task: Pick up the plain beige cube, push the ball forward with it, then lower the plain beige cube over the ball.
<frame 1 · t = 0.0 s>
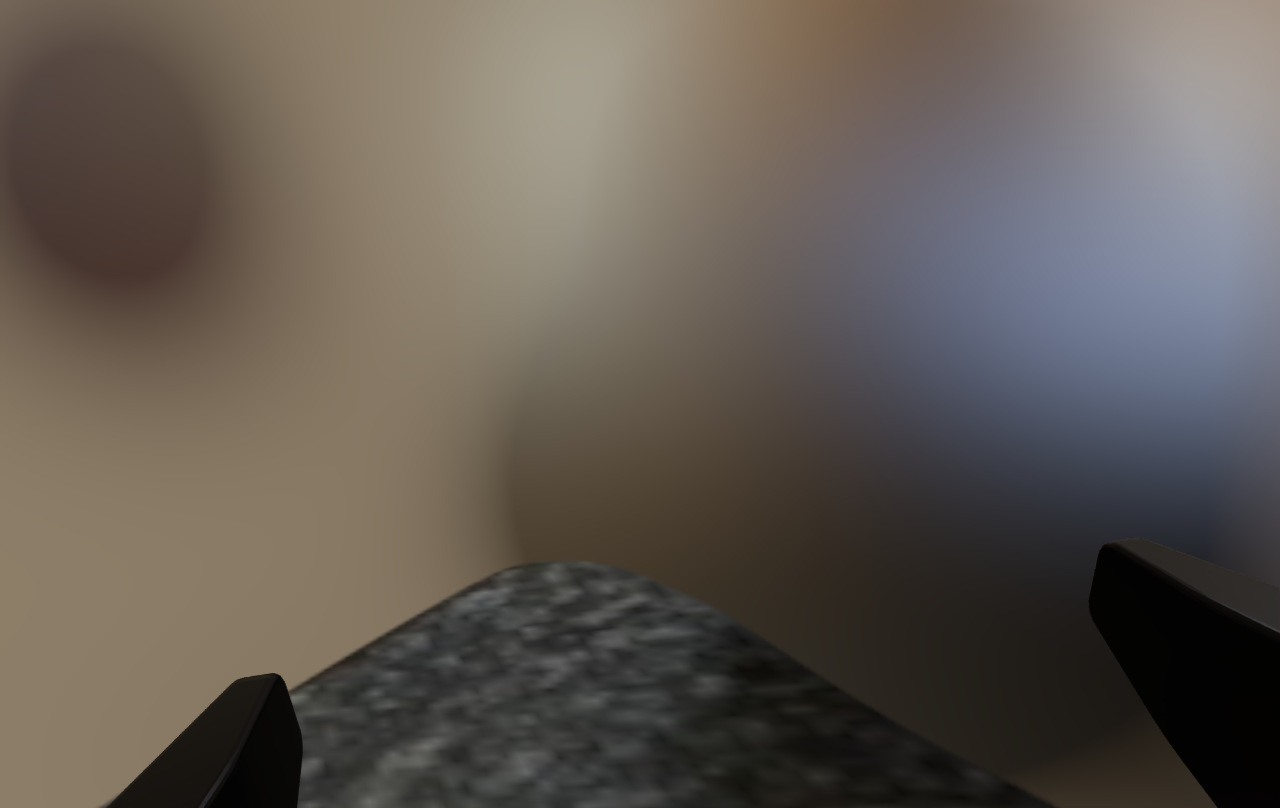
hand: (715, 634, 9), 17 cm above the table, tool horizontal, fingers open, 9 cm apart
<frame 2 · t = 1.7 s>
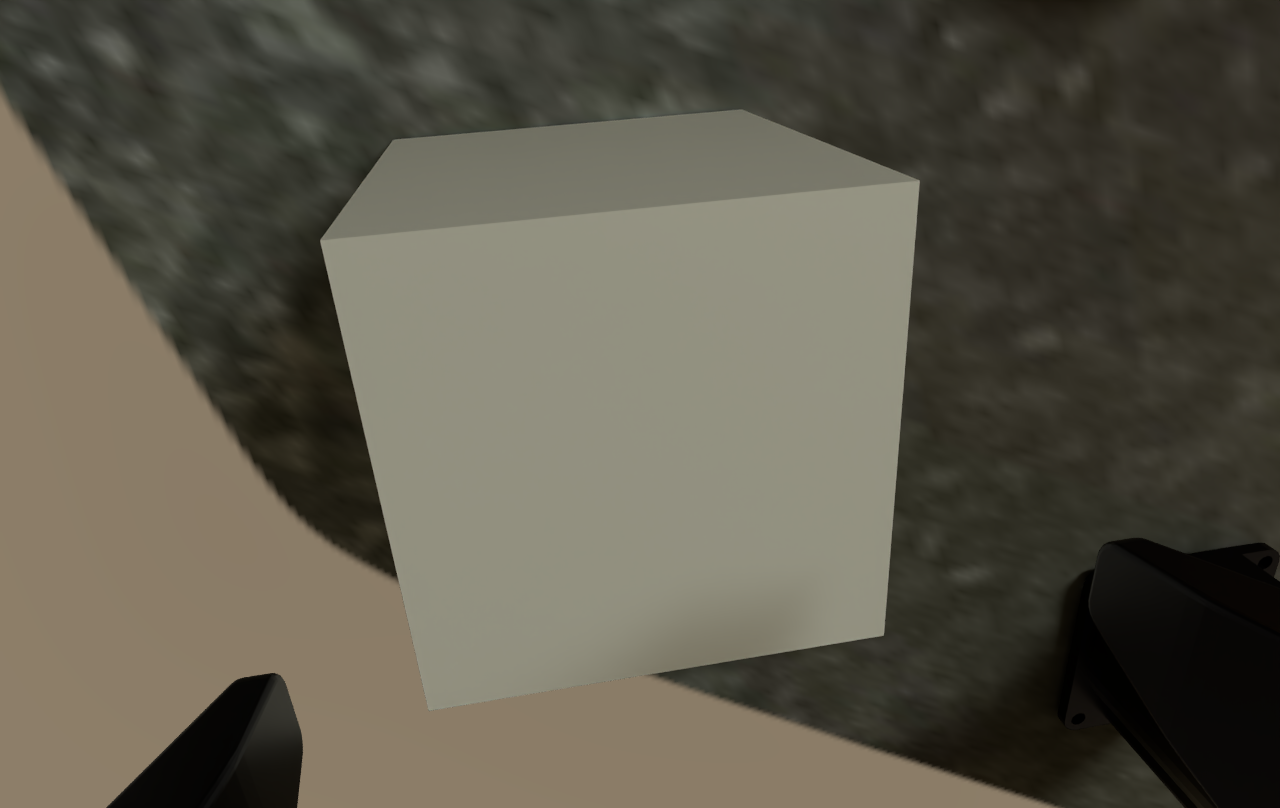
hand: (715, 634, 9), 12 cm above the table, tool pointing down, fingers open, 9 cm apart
plain beige cube: (587, 291, 20), on the table
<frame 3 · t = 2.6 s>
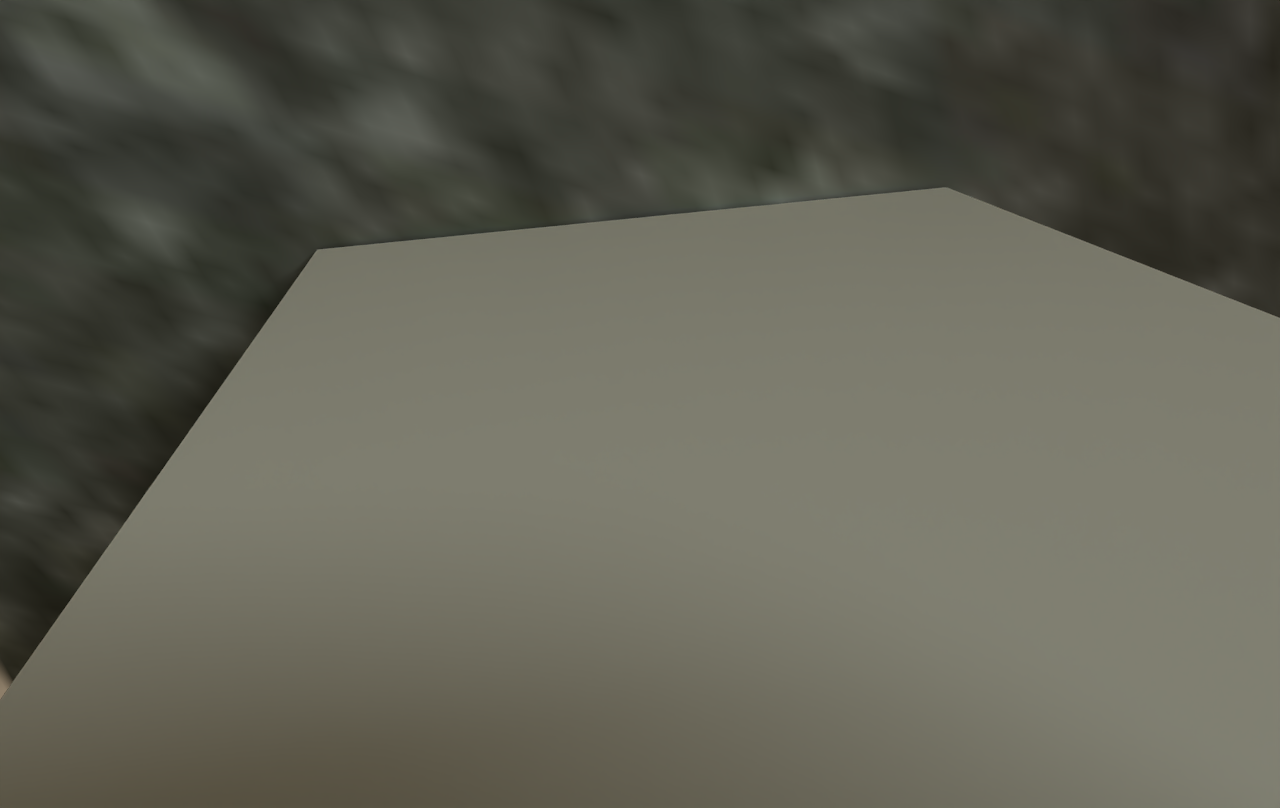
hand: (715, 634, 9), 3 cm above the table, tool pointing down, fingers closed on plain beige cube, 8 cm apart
plain beige cube: (661, 489, 12), on the table, touching gripper
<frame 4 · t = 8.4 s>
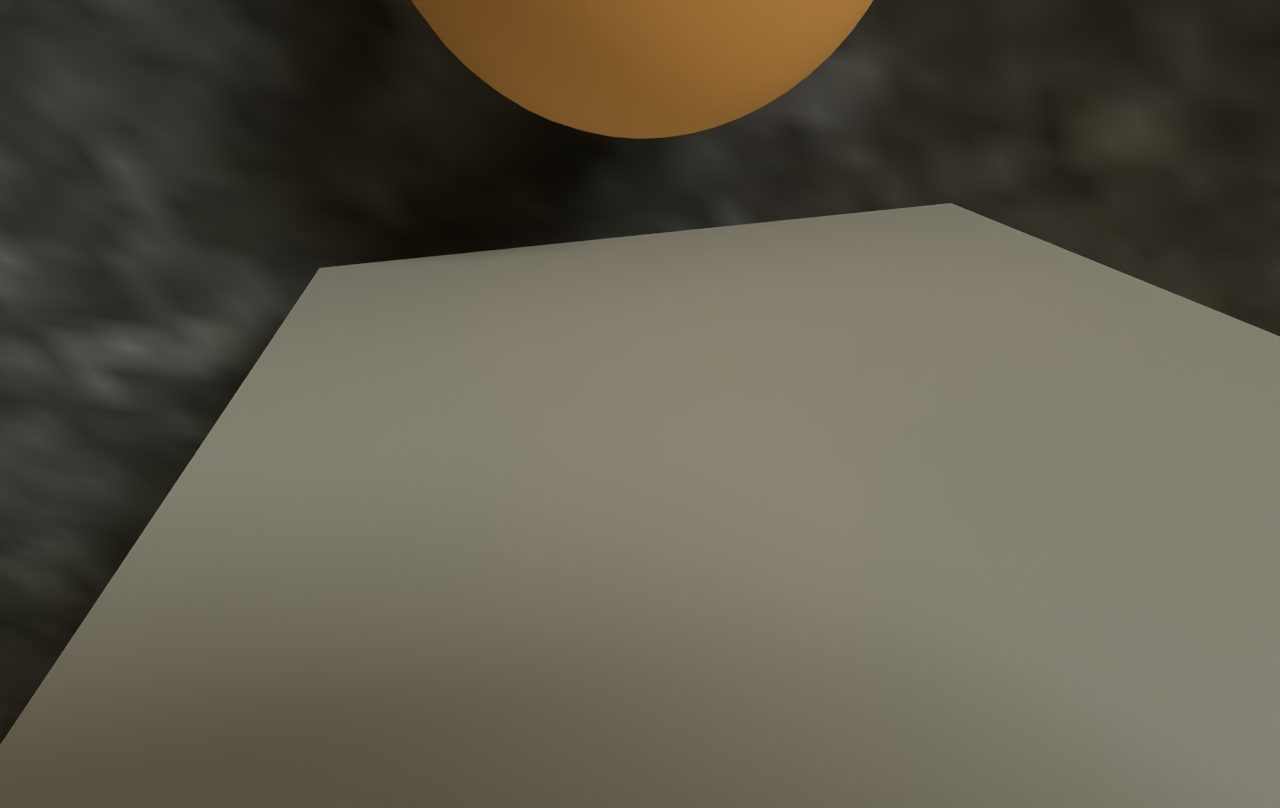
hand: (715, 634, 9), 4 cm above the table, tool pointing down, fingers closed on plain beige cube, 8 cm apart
plain beige cube: (665, 506, 12), point 2 cm above the table, touching gripper
when the fingers open (3 cm above the table, at t = 13.9 s): plain beige cube stays where it is, on the table.
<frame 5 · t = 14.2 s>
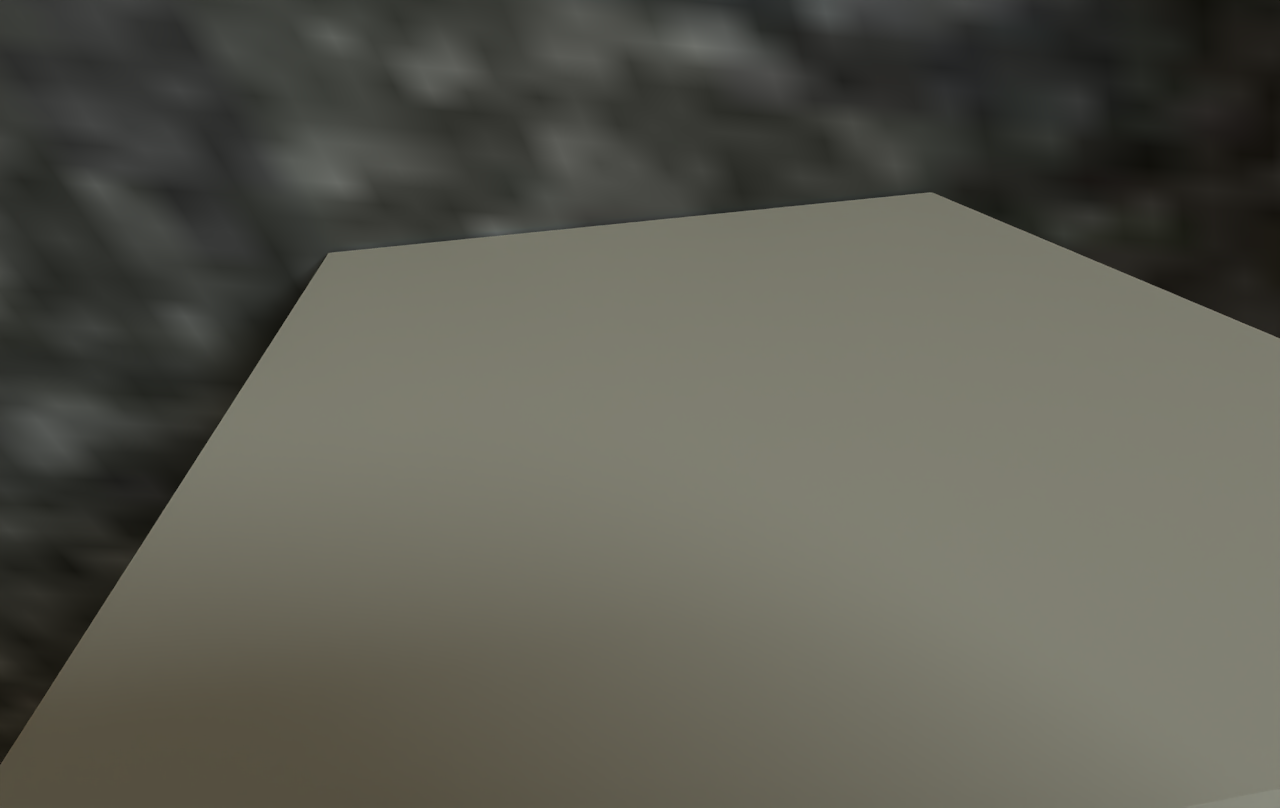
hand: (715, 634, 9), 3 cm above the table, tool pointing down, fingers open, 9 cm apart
plain beige cube: (658, 483, 12), on the table
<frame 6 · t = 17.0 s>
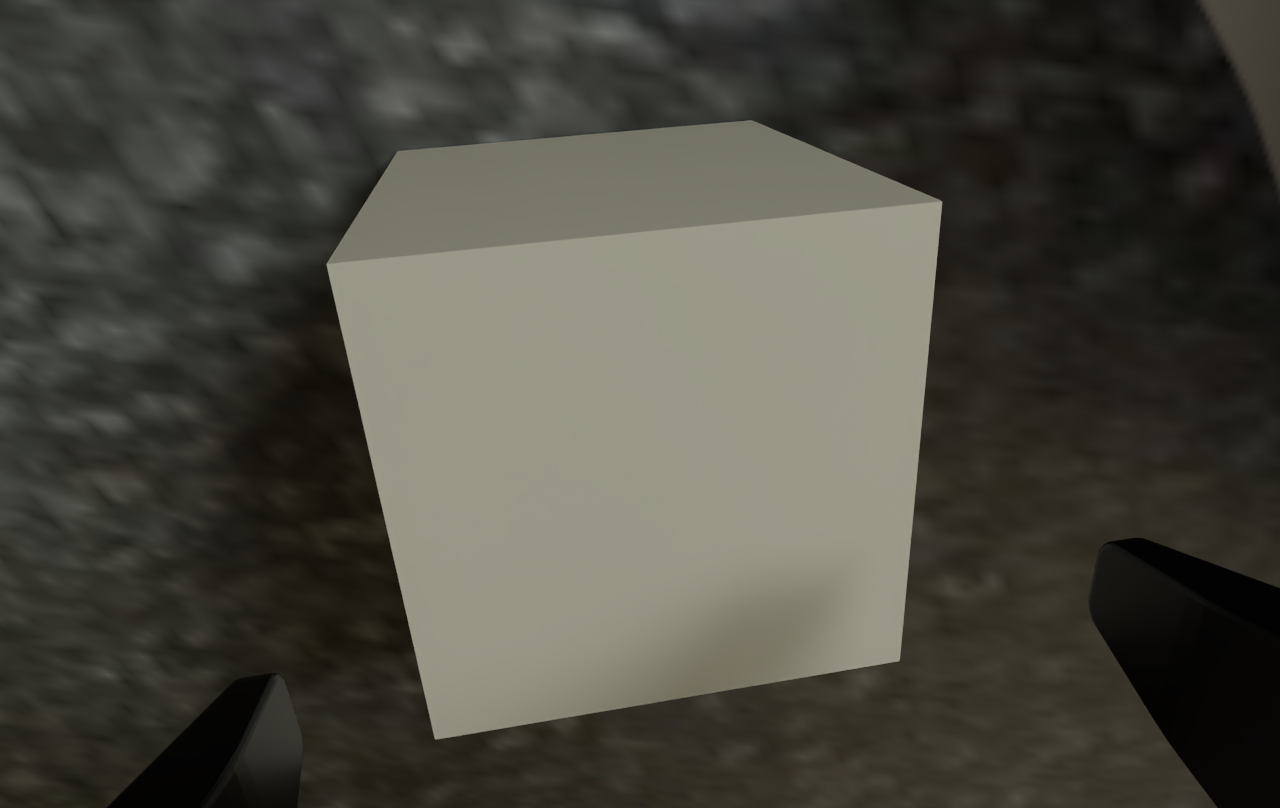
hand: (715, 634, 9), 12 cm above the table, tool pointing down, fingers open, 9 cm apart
plain beige cube: (594, 304, 20), on the table
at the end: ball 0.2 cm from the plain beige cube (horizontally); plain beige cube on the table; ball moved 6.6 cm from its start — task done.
